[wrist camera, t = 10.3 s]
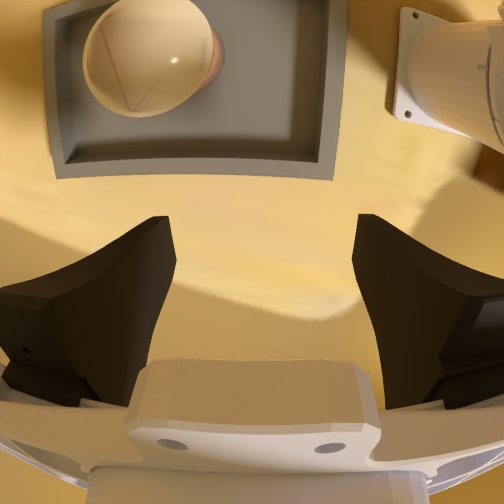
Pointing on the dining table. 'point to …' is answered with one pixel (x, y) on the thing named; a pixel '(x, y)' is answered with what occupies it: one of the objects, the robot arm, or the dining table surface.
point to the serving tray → (209, 97)
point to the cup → (151, 56)
